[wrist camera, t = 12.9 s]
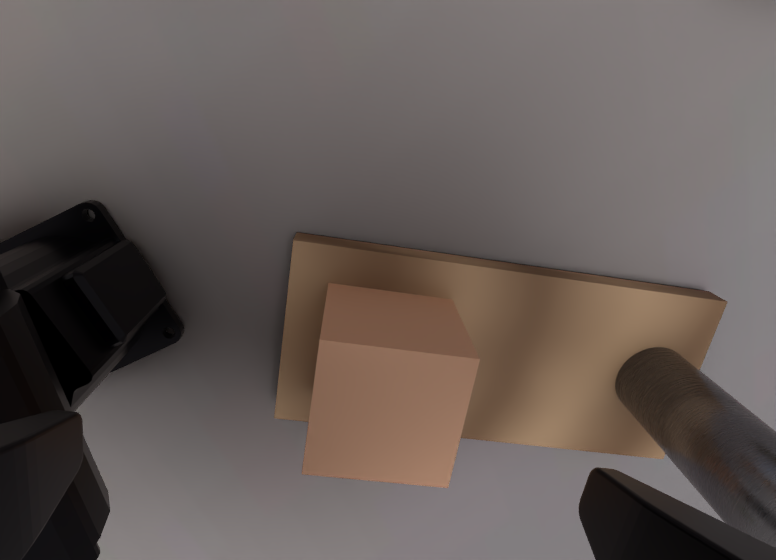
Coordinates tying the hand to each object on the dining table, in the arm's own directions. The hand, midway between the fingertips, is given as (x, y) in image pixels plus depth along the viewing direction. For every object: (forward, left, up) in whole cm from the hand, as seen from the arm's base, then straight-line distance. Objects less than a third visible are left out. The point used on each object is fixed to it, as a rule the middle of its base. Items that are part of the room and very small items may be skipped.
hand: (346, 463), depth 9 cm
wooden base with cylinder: (+4, -7, -13) cm, 15 cm away
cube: (-1, -4, -12) cm, 12 cm away
